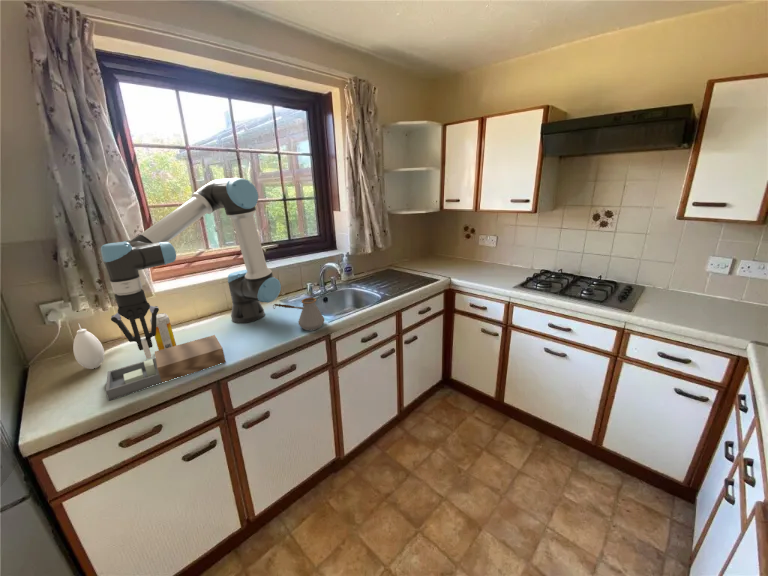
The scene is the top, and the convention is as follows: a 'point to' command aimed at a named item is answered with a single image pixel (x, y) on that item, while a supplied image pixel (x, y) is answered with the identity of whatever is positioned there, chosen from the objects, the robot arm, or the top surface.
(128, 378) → the front tile
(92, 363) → the air blower bulb
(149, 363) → the rear tile
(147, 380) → the box
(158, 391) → the top surface
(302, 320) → the coffee pot
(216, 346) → the walnut board
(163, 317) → the beer can
